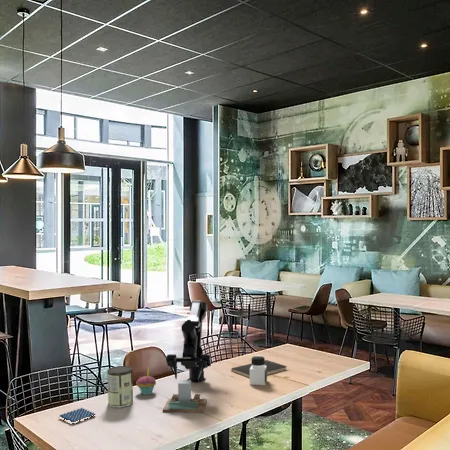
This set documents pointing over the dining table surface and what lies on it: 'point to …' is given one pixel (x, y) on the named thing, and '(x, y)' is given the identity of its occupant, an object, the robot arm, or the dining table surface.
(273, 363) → the hardcover book
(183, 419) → the dining table surface
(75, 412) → the woven mat
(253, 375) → the medicine bottle
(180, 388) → the block
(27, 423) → the dining table surface
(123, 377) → the coffee can
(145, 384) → the cupcake
